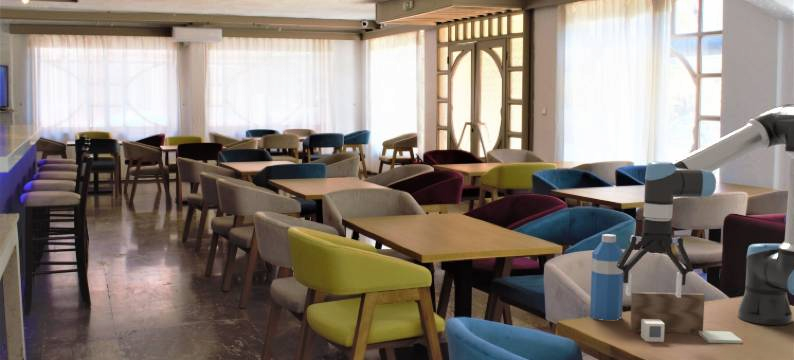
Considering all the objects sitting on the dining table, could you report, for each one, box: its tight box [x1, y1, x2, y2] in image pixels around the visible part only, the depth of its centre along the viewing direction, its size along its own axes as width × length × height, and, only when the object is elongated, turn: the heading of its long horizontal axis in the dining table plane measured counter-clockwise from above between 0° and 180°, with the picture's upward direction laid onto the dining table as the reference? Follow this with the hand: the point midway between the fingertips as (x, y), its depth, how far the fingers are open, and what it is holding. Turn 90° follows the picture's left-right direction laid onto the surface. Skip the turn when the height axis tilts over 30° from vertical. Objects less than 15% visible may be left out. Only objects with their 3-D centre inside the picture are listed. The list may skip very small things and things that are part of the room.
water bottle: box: [589, 233, 624, 321], centre depth 263 cm, size 9×9×25 cm
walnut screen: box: [629, 291, 705, 335], centre depth 248 cm, size 20×4×11 cm, turn 88°
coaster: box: [698, 330, 743, 344], centre depth 242 cm, size 9×9×1 cm
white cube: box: [640, 319, 665, 343], centre depth 240 cm, size 5×5×5 cm
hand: (653, 295), depth 239 cm, fingers open, 13 cm apart
